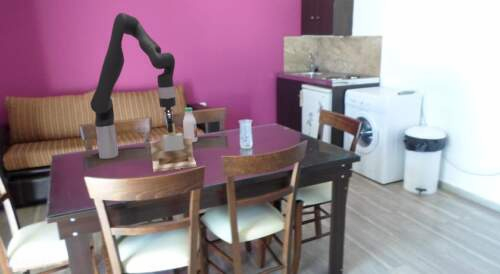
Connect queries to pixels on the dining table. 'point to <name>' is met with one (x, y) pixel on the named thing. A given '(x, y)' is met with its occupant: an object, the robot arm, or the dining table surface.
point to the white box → (173, 141)
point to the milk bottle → (189, 125)
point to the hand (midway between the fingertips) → (170, 131)
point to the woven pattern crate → (172, 156)
